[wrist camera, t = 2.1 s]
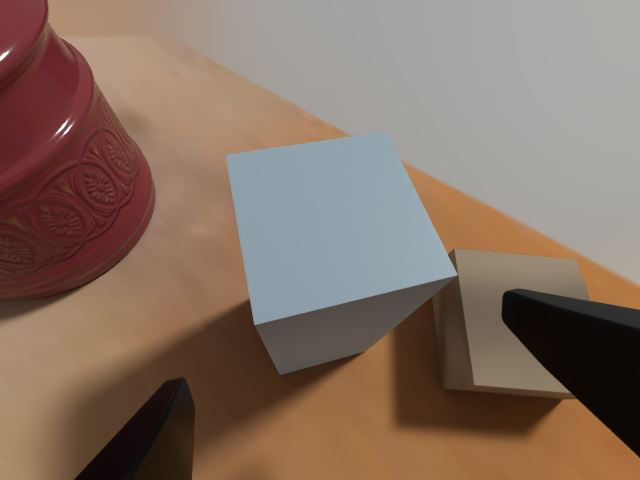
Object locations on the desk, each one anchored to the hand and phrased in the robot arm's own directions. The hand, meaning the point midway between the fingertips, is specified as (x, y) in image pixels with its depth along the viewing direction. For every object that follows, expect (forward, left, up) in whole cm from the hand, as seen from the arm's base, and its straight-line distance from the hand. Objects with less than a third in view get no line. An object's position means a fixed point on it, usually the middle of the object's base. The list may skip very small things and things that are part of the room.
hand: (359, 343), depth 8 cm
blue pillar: (+3, -1, -10) cm, 11 cm away
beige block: (-4, -10, -11) cm, 15 cm away
